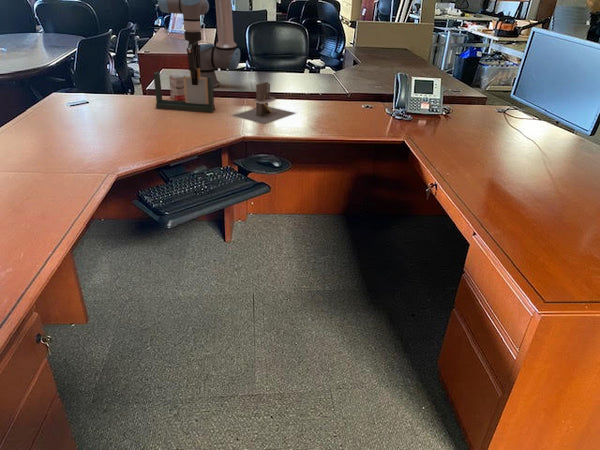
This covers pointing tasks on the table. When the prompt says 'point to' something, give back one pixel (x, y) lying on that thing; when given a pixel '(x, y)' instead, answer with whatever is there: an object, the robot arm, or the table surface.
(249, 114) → the architectural model
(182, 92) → the ink box
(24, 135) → the table surface
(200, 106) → the window frame
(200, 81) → the window sash
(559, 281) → the table surface
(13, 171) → the table surface
